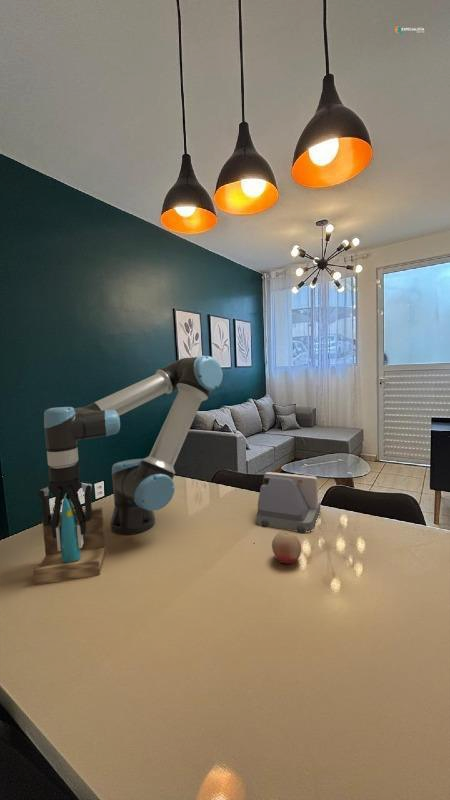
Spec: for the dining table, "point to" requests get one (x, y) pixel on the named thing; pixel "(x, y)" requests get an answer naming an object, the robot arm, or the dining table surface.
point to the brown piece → (83, 567)
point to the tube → (69, 533)
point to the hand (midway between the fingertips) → (71, 546)
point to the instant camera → (288, 501)
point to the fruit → (286, 547)
